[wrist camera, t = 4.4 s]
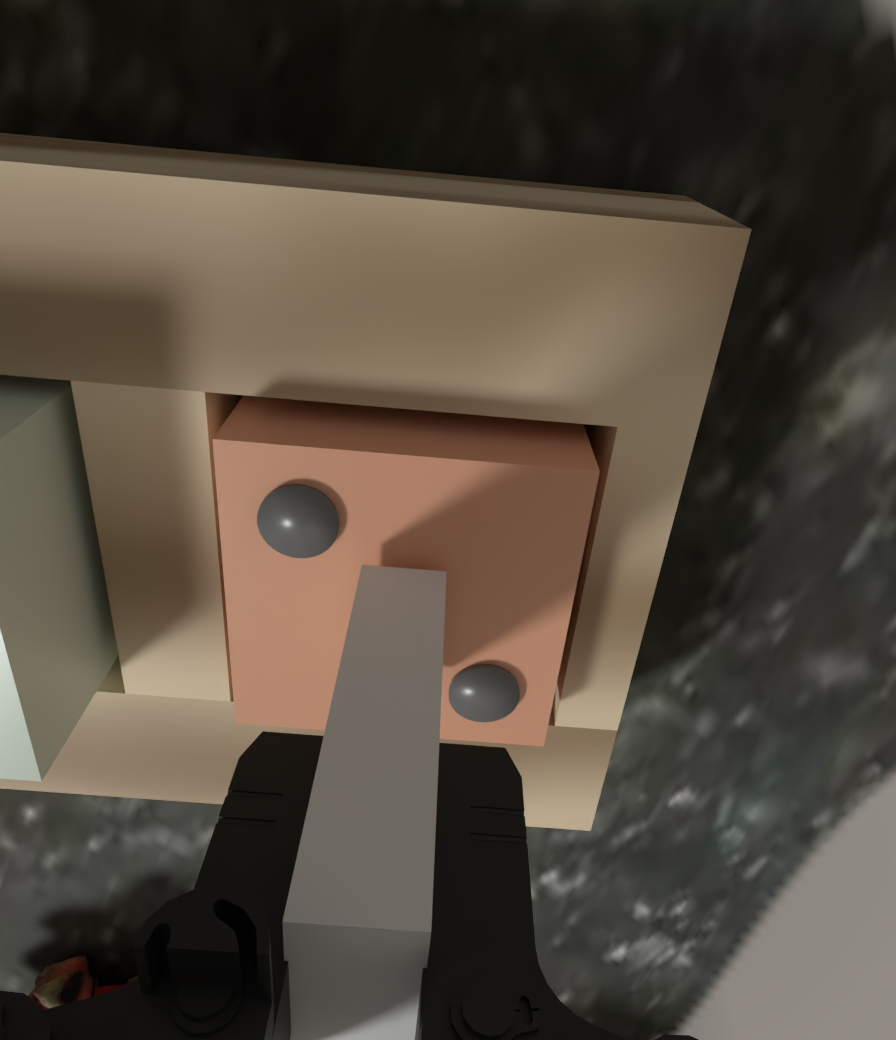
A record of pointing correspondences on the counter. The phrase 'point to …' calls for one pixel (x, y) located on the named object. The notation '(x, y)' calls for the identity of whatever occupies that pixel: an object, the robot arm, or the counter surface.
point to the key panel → (346, 396)
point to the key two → (46, 578)
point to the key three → (400, 551)
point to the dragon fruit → (67, 983)
